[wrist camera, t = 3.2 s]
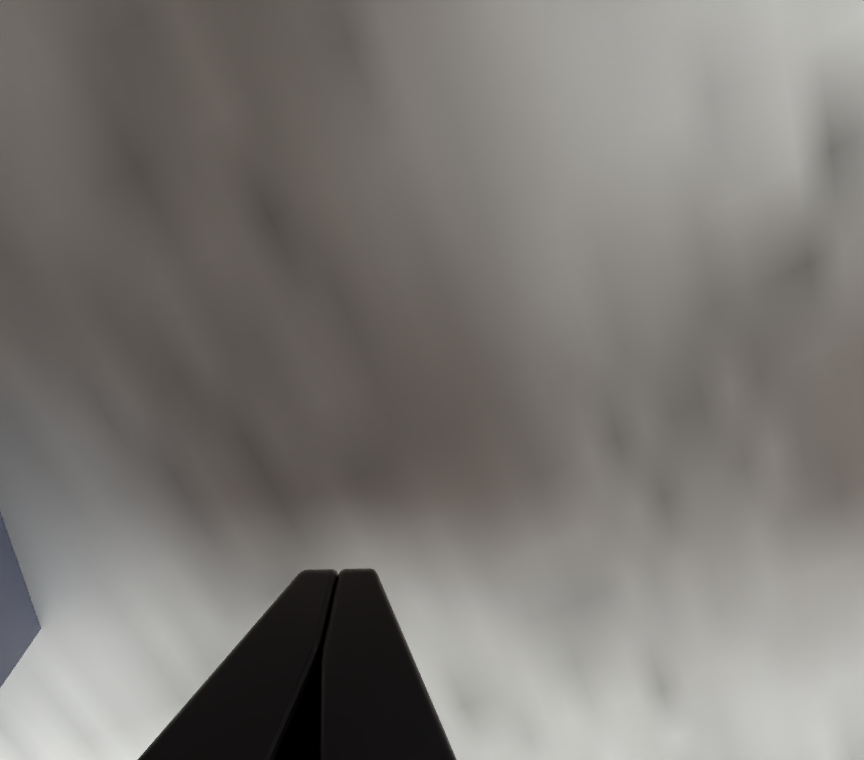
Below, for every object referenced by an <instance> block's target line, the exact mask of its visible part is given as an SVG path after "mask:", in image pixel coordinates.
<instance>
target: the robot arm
mask: <svg viewBox="0 0 864 760" xmlns="http://www.w3.org/2000/svg"><path fill="white" fill-rule="evenodd" d="M138 760H456V757H455V755H454V753H453V750H452V748H451V745H450V743H449V741H448V738H447V736H446V734H445V731H444V729H443V727H442V724H441V722H440V720H439V717H438V715H437V713H436V710H435V708H434V706H433V703H432V701H431V699H430V696H429V694H428V692H427V689H426V687H425V685H424V682H423V680H422V678H421V675H420V673H419V671H418V668H417V666H416V663H415V661H414V659H413V656H412V654H411V652H410V649H409V647H408V645H407V642H406V640H405V638H404V635H403V633H402V631H401V628H400V626H399V624H398V621H397V619H396V617H395V614H394V612H393V610H392V607H391V605H390V603H389V600H388V598H387V596H386V593H385V591H384V589H383V586H382V584H381V581H380V579H379V577H378V575H377V573H376V571H375V570H373V569H343V570H342V571H341V572H340V573H339V574H338V573H337V571H335V570H333V569H319V570H304V571H302V572H301V573H299V574H298V575H297V577H296V578H295V579H294V580H293V581H292V582H291V583H290V585H289V586H288V587H287V588H286V589H285V590H284V592H283V593H282V594H281V595H280V596H279V597H278V598H277V600H276V601H275V602H274V603H273V604H272V605H271V607H270V608H269V609H268V610H267V611H266V612H265V613H264V615H263V616H262V617H261V618H260V619H259V620H258V622H257V623H256V624H255V625H254V626H253V627H252V628H251V630H250V631H249V632H248V633H247V634H246V635H245V637H244V638H243V639H242V640H241V641H240V642H239V643H238V645H237V646H236V647H235V648H234V649H233V650H232V652H231V653H230V654H229V655H228V656H227V657H226V658H225V660H224V661H223V662H222V663H221V664H220V665H219V667H218V668H217V669H216V670H215V671H214V672H213V673H212V675H211V676H210V677H209V678H208V679H207V680H206V682H205V683H204V684H203V685H202V686H201V687H200V688H199V690H198V691H197V692H196V693H195V694H194V695H193V697H192V698H191V699H190V700H189V701H188V702H187V703H186V705H185V706H184V707H183V708H182V709H181V710H180V712H179V713H178V714H177V715H176V716H175V717H174V718H173V720H172V721H171V722H170V723H169V724H168V725H167V727H166V728H165V729H164V730H163V731H162V732H161V733H160V735H159V736H158V737H157V738H156V739H155V740H154V742H153V743H152V744H151V745H150V746H149V747H148V748H147V750H146V751H145V752H144V753H143V754H142V755H141V757H140V758H139V759H138Z"/></svg>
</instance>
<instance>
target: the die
mask: <svg viewBox="0 0 864 760" xmlns="http://www.w3.org/2000/svg"><path fill="white" fill-rule="evenodd" d="M40 629H41V627H40V624H39V622H38V619H37V616H36V613H35V610H34V607H33V604H32V601H31V599H30V596H29V593H28V590H27V587H26V584H25V581H24V579H23V576H22V573H21V570H20V567H19V564H18V561H17V558H16V556H15V553H14V550H13V547H12V544H11V541H10V538H9V535H8V533H7V530H6V527H5V524H4V521H3V518H2V515H1V512H0V687H1V686H2V685H3V683H4V682H5V680H6V679H7V677H8V676H9V674H10V673H11V671H12V670H13V669H14V667H15V666H16V664H17V663H18V661H19V660H20V658H21V657H22V655H23V654H24V653H25V651H26V650H27V648H28V647H29V645H30V644H31V642H32V641H33V639H34V638H35V637H36V635H37V634H38V632H39V631H40Z"/></svg>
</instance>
